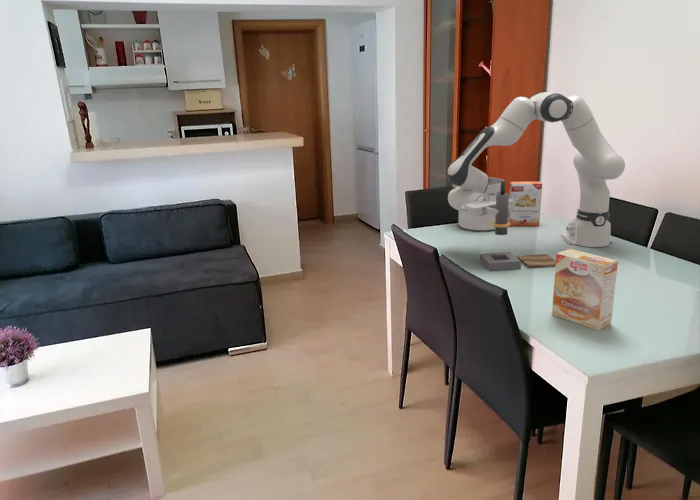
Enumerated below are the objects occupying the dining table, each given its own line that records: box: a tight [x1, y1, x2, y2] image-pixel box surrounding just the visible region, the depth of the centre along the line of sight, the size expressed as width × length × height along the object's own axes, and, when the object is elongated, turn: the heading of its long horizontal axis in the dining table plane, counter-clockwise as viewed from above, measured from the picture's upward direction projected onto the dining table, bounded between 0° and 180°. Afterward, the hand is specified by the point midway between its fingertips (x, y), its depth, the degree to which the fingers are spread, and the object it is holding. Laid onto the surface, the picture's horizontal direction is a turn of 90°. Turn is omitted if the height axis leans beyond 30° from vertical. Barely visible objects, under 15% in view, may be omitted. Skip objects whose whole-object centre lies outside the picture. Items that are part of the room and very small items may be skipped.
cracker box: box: [508, 181, 543, 227], centre depth 253 cm, size 14×6×21 cm, turn 81°
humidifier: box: [452, 176, 505, 232], centre depth 254 cm, size 22×21×23 cm
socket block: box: [479, 251, 522, 272], centre depth 203 cm, size 12×12×3 cm
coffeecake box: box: [551, 248, 619, 332], centre depth 152 cm, size 15×7×20 cm, turn 35°
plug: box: [493, 180, 511, 236], centre depth 197 cm, size 6×6×20 cm
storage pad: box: [516, 253, 556, 269], centre depth 204 cm, size 12×12×1 cm
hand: (503, 210), depth 196 cm, fingers closed on plug, 4 cm apart
